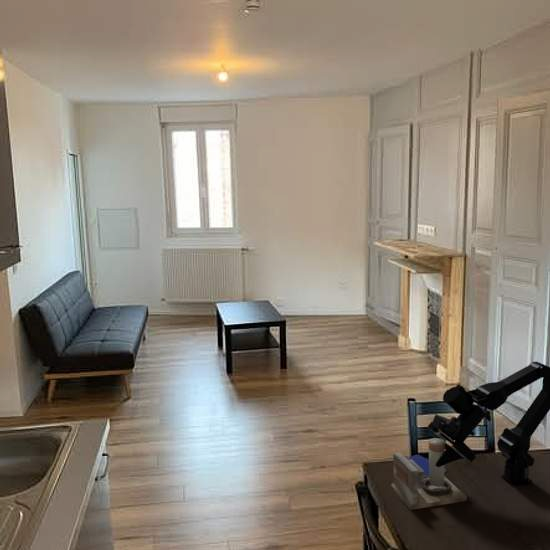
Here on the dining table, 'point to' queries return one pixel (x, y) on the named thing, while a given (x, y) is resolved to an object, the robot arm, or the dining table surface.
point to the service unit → (421, 486)
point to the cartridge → (434, 454)
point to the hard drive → (422, 464)
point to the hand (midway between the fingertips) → (432, 462)
